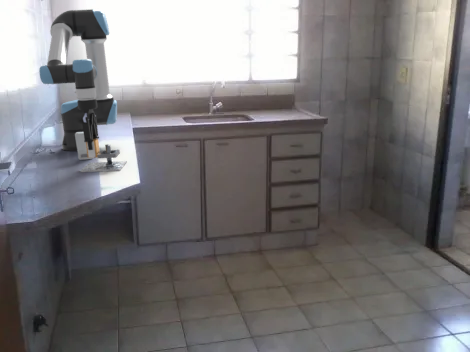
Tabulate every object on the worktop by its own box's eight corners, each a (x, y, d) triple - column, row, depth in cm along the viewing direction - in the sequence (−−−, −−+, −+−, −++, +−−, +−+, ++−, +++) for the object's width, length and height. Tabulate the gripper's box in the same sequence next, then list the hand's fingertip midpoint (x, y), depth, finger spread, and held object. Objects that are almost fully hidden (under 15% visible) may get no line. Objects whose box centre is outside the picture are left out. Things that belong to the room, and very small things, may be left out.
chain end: (78, 159, 199) (76, 142, 198) (84, 155, 207) (81, 138, 205) (115, 157, 199) (113, 140, 197) (119, 153, 206) (118, 137, 205)
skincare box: (94, 157, 223) (90, 130, 220) (92, 159, 219) (88, 132, 216) (80, 158, 223) (76, 131, 219) (78, 160, 218) (74, 133, 215)
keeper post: (89, 164, 211) (86, 142, 208) (126, 162, 211) (124, 141, 208) (80, 172, 198) (77, 149, 196) (120, 170, 198) (117, 147, 195)
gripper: (83, 96, 205) (90, 151, 211) (70, 102, 188) (78, 161, 195) (101, 96, 205) (108, 151, 211) (90, 101, 188) (97, 160, 195)
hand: (93, 155), depth 203 cm, fingers closed on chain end, 4 cm apart
